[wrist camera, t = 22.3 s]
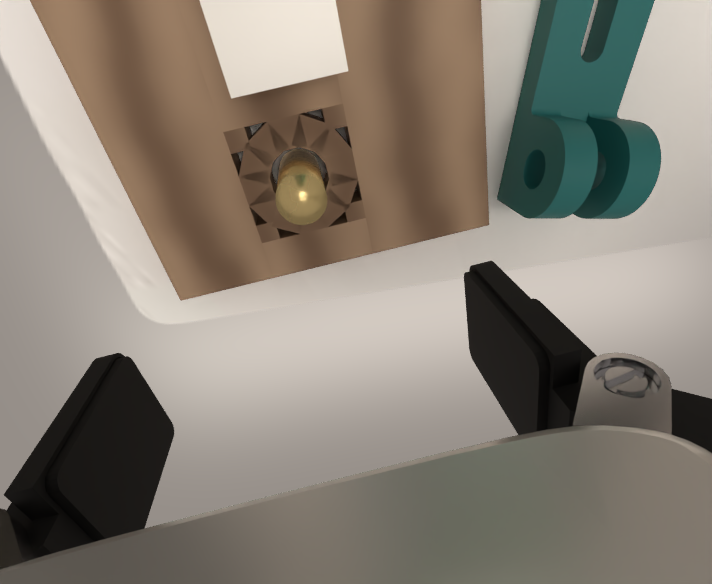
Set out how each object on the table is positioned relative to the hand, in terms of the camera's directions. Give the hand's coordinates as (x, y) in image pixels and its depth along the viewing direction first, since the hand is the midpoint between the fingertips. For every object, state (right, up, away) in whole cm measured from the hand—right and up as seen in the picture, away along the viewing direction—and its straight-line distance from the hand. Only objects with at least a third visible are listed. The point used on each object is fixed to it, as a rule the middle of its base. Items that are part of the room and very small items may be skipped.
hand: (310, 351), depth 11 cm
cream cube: (-3, +17, +13) cm, 22 cm away
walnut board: (-3, +14, +18) cm, 23 cm away
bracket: (+17, +18, +19) cm, 31 cm away
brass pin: (-3, +11, +19) cm, 22 cm away
